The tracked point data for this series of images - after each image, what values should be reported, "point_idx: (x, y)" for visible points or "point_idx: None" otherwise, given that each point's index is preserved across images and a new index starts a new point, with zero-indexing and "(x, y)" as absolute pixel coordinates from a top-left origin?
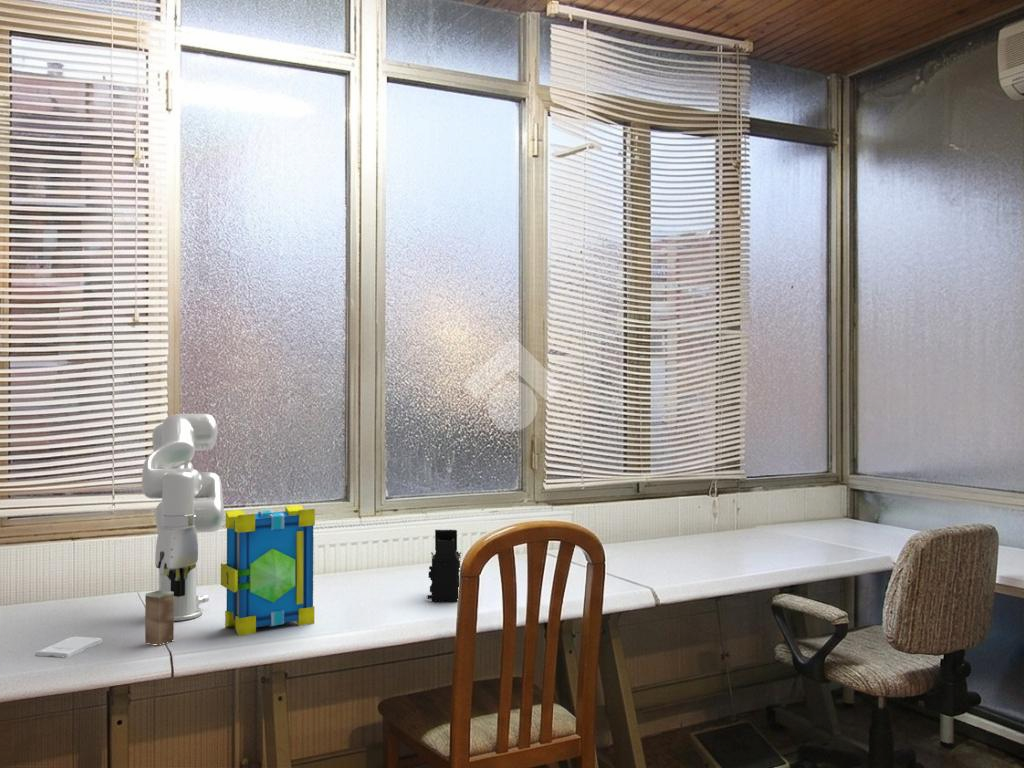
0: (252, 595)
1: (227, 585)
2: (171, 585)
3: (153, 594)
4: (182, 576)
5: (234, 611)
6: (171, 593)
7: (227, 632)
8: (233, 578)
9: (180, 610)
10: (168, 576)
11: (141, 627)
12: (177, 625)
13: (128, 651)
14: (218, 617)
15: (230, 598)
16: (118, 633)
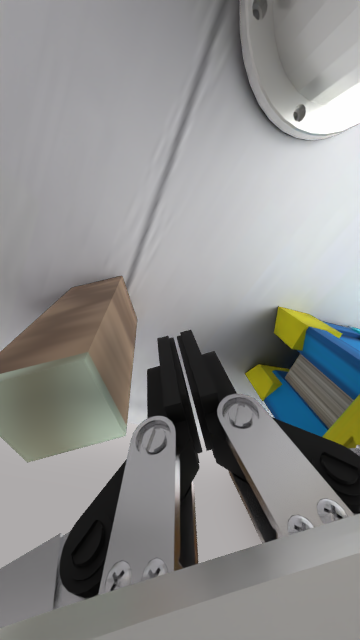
0: None
1: (339, 440)
2: (148, 403)
3: (4, 431)
4: (228, 468)
5: (303, 354)
6: (111, 434)
7: (251, 341)
8: None
9: (317, 81)
10: (108, 496)
11: (142, 57)
12: (236, 173)
13: (10, 320)
14: (355, 198)
15: (334, 364)
16: (28, 61)
